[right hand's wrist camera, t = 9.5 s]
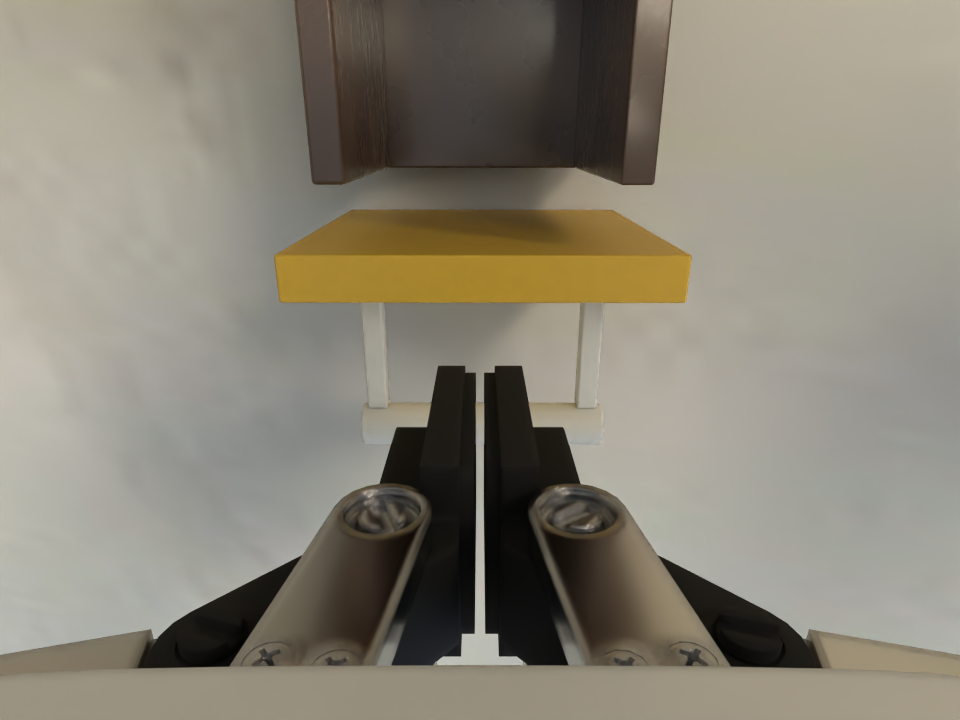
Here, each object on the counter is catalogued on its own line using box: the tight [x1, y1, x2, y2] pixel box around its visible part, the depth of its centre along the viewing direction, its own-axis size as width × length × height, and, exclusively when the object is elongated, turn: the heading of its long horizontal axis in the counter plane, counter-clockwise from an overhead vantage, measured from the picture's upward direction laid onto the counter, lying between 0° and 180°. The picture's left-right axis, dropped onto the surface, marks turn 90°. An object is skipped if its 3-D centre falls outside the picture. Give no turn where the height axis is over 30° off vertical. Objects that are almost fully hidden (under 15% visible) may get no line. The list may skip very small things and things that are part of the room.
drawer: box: [274, 0, 692, 444], centre depth 17 cm, size 20×10×9 cm, turn 0°
